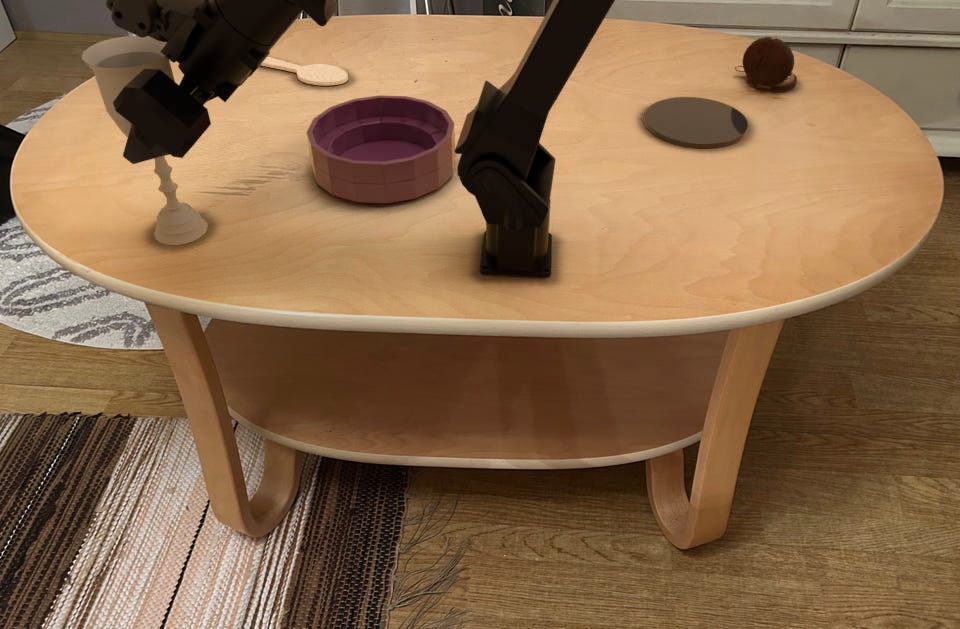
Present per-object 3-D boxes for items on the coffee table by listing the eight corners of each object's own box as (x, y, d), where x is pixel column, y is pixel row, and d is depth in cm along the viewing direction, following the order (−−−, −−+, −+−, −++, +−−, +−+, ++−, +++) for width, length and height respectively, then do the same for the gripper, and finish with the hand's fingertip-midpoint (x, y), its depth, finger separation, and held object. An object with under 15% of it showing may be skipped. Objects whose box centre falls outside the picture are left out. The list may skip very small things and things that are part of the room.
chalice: (128, 244, 76) (63, 63, 64) (165, 206, 81) (112, 32, 69) (197, 255, 75) (144, 72, 63) (231, 216, 80) (187, 39, 68)
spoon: (251, 49, 112) (250, 45, 111) (357, 74, 105) (357, 70, 105) (225, 63, 108) (224, 59, 108) (333, 89, 101) (333, 85, 101)
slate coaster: (755, 150, 89) (756, 145, 89) (648, 146, 90) (648, 141, 90) (737, 102, 98) (738, 98, 98) (640, 99, 99) (640, 95, 99)
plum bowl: (446, 210, 80) (444, 166, 77) (299, 204, 81) (291, 161, 78) (460, 138, 92) (460, 97, 89) (331, 133, 93) (325, 93, 90)
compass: (801, 79, 104) (816, 23, 99) (782, 102, 99) (797, 44, 94) (742, 65, 107) (754, 10, 102) (720, 86, 102) (731, 30, 97)
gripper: (208, -96, 67) (122, 28, 75) (99, -24, 53) (8, 119, 61) (312, 4, 71) (220, 110, 79) (236, 95, 57) (134, 213, 65)
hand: (152, 133), depth 71 cm, fingers open, 9 cm apart
